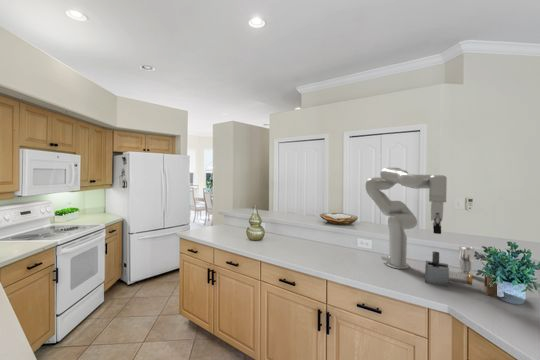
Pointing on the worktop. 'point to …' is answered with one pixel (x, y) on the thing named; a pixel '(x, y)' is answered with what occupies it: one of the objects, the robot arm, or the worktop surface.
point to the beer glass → (466, 259)
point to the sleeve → (437, 274)
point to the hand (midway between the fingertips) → (437, 231)
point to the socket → (490, 290)
